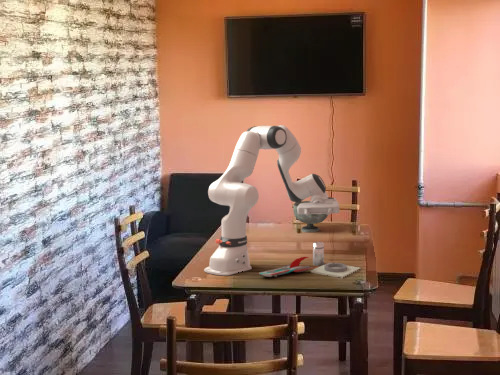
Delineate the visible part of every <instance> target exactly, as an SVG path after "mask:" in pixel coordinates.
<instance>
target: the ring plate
mask: <svg viewBox="0 0 500 375" xmlns="http://www.w3.org/2000/svg"><path fill="white" fill-rule="evenodd" d="M358 269H360V270H361V267H360V266H359V267H358V266H353V265H347V264H346V263H341V262H328V263H327V262H326V263H324V265H322V266H317V267H315V268H312V269H310V273H311V274H318V275H322V276H327V275H328V276H329V277H333V278H338V277H341V278H340V279H343V277H344V278H345V276H346V277H348V276H349V274H350V275H352V274H354V273H356V272H358V271H359V270H358ZM357 270H358V271H357ZM355 271H356V272H355ZM353 272H354V273H353ZM351 273H352V274H351ZM347 275H348V276H347Z"/></svg>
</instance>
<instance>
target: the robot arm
mask: <svg viewBox="0 0 500 375" xmlns="http://www.w3.org/2000/svg"><path fill="white" fill-rule="evenodd" d="M260 150H275V151H276V152H277V154H278V159H277V161H276V163H277V168H278V172H279V174H280V176H281V179H282V181H283V184H284V187H285V189H286V194H287V197H288V198H289V200H290V201H291V202H293V203H299V202H302V201H305V199H307V198H310V200H309V201H310V203H301V204H299V205H298V206H297V213H298V214H306V215H310V214H326V215H328V216H329V215H331V214H340V211H341V210H340V203H339V201H338V200H337V198H336V197H330V196H329V195H328V193H327V187H326V184H325V182H324V180H323V178H322V177H321V176H320V175H318V174H316V173H311V174H309V175H307V176H305V177H303V178H300V179H299V180H296V181H293V180H292V177H291V175H290V172H289V171H290V169H291V168H292V166H293V165H294V164H295V163H296V162H297V161H298V160H299V159H300V157H301V154H302V147H301V145H300V143H299V141H298V140H297V138H296V136H295V135H294V134H293V132H292V131H291V130H290V129H289V128H288V127H287V126H286V125H282V124H279V125H259V126H258V125H257V126H255V125H254V126H251V127H249V128H247V130H246V131H243V132H242V133H241V134H240V136H239V139H238V140H237V142H236V144H235V147H234V149H233V152H232V155H231V159H230V161H229V165H228V166H227V168H226V170H225V171H224V172H223V174H222V175H221V176H220V177H219V178H218V179H216V180H215V181H213V182H212V183H211V184H210V185H209V187H208V190H207V194H208V198H209V200H210V201H211V202H213V203H215V204H218V205H219V206H227V207H229V210H228V211H229V212H228V214H226V215H224V216H223V217H222V218H221V221H220V222H221V236H220V237H219V238H220V239H219V238H216V239H215V241H214V242H215V244H218V247H217V248H216V250H215V251H214V252H213V253H212V255H211V256H210V257H209V264H208V265H209V266H207V267H205V268H203V272H205V273H207V274H211V275H216V276H231V275H235V274H238V272H239V273H241V272H242V271H243V272H246V271H250V270H252V266H251V264H250V263H251V262H250V255H249V254H250V253H249V250H248V246H247V244H248V236H247V218H248V215H249V213H250V210H251V209H252V208H253V207H254V206H255V205H257V203H258V200H259V192H258V188H256V186H255V185H252V184H249V183H245V182H243V181H244V180H245V179H246V178H248V177H250V176H252V174H253V173H254V169H255V166H256V163H257V159H258V156H259V152H260Z"/></svg>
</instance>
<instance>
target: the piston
mask: <svg viewBox="0 0 500 375" xmlns="http://www.w3.org/2000/svg"><path fill="white" fill-rule="evenodd" d="M312 265H313V266H314V267H316V266H317V267H320V266H322V265H325V243H324V242H323V241H314V242H312Z"/></svg>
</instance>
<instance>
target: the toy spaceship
mask: <svg viewBox="0 0 500 375" xmlns="http://www.w3.org/2000/svg"><path fill="white" fill-rule="evenodd" d="M308 258H310V257H309V256H301V257H298V258H296V259H294V260H293V261H292V262H291V263H290V264H287V265H285V266H283V267H279V268H274V269H271V270H265V271H260V272H257V274H258V275H260V276H264V277H266V278H267V277H269V278H271V277H274V278H277V277H278V276H281V275H282V276H283V275H285V274H289V273H291V272H295V273H301V272H307V271H311V270H312V269H315V268H318V266H312V267H311V266H310V265H305V266H301V264H303V262H302V261H304V260H305V259H308ZM301 262H302V263H301Z"/></svg>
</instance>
